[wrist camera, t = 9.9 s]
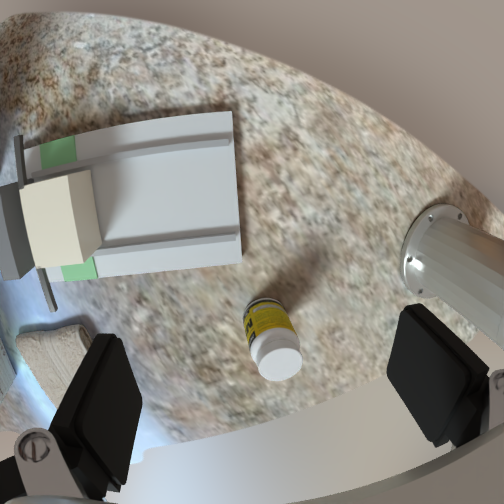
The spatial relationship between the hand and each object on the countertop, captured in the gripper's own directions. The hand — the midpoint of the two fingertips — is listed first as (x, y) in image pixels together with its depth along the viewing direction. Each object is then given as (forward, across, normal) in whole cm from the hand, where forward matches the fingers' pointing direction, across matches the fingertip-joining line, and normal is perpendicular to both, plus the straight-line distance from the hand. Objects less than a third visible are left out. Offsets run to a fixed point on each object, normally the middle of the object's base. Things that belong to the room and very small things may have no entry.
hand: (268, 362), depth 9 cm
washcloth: (+20, +23, +20) cm, 36 cm away
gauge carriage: (+18, +15, -3) cm, 24 cm away
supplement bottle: (+21, -2, +11) cm, 24 cm away
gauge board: (+20, +11, -3) cm, 23 cm away
